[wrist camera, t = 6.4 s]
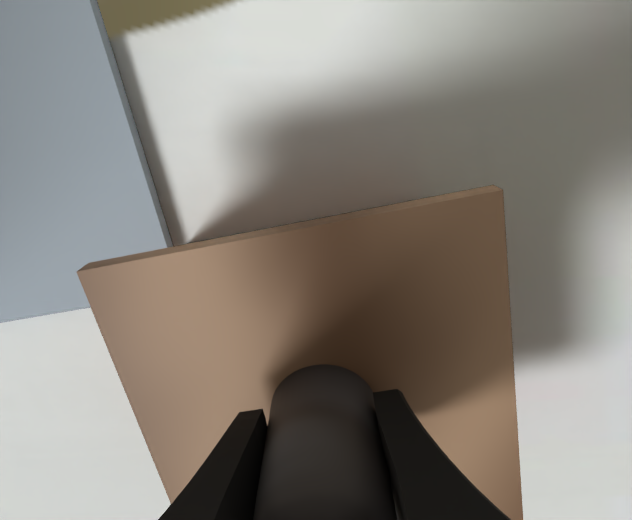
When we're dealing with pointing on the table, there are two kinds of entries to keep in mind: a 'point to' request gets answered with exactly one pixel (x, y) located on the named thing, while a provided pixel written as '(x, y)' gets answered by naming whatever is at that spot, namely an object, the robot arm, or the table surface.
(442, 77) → the table surface
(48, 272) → the mat
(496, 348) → the lid
